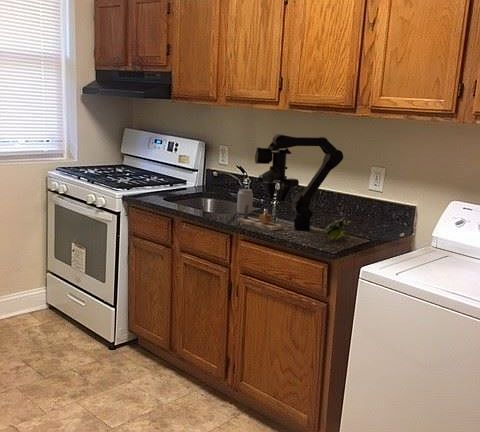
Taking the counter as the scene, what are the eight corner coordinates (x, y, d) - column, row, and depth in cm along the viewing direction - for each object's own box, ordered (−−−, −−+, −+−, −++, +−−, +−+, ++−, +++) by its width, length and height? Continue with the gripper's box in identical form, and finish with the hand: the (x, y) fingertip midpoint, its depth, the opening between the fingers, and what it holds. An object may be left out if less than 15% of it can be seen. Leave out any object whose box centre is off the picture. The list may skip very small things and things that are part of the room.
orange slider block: (271, 222, 242) (271, 209, 240) (265, 223, 239) (265, 210, 237) (265, 221, 244) (266, 208, 243) (259, 222, 241) (260, 208, 240)
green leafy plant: (331, 249, 229) (338, 224, 233) (353, 250, 221) (360, 224, 225) (317, 238, 222) (324, 212, 226) (339, 238, 214) (347, 211, 218)
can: (250, 215, 264) (251, 191, 262) (235, 214, 266) (236, 189, 263) (253, 212, 272) (254, 188, 269) (238, 211, 273) (239, 187, 271)
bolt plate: (282, 228, 239) (283, 210, 238) (271, 230, 234) (272, 212, 233) (247, 220, 254) (248, 203, 252) (237, 221, 249) (237, 204, 247)
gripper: (250, 162, 232) (248, 198, 236) (283, 167, 220) (281, 205, 223) (267, 161, 240) (265, 196, 243) (300, 166, 228) (298, 202, 231)
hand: (276, 200), depth 235 cm, fingers open, 6 cm apart
